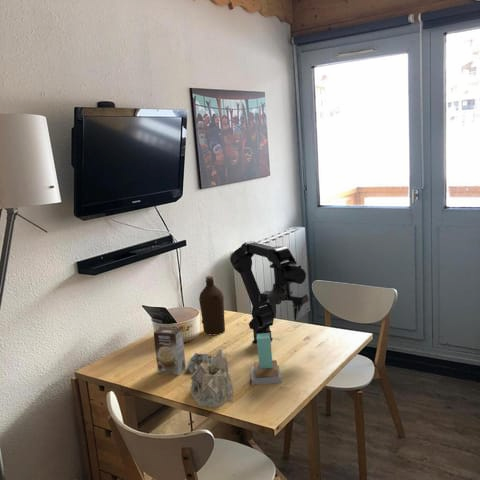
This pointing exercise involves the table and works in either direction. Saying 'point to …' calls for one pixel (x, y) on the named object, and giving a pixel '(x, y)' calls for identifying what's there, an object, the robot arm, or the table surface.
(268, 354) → the teal block
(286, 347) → the table surface
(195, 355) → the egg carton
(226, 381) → the grey jagged round piece
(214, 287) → the olive oil
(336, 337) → the table surface
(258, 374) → the walnut slab
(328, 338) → the table surface
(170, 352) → the coffee box
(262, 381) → the slate slab
